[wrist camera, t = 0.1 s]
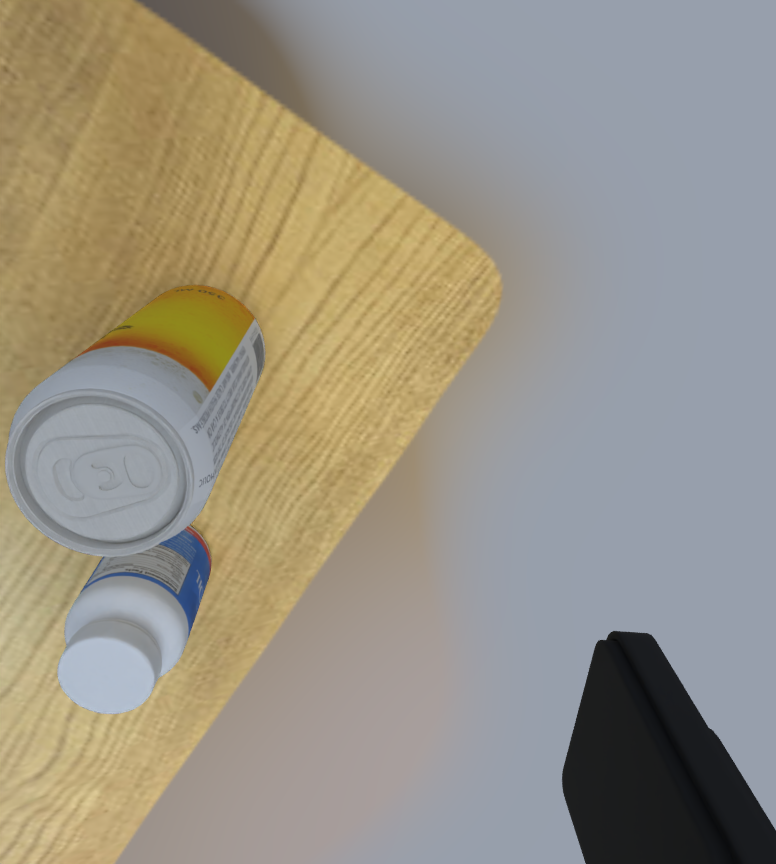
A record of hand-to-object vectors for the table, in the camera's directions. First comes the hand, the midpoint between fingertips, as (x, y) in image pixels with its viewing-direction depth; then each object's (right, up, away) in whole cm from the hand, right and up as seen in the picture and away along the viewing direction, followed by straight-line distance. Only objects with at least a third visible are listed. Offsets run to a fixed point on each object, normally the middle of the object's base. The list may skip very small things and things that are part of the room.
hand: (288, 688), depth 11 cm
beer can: (-7, +8, +24) cm, 26 cm away
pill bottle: (-11, -3, +28) cm, 30 cm away
